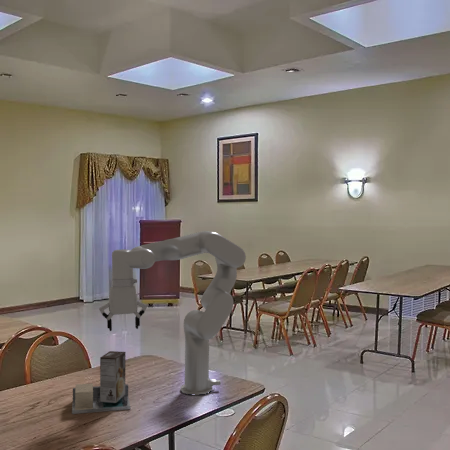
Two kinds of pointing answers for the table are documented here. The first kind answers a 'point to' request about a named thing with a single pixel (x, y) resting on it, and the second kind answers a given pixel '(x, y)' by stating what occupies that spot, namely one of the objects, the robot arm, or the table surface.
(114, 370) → the coffee box
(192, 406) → the table surface
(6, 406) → the table surface
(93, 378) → the table surface
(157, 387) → the table surface
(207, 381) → the robot arm
